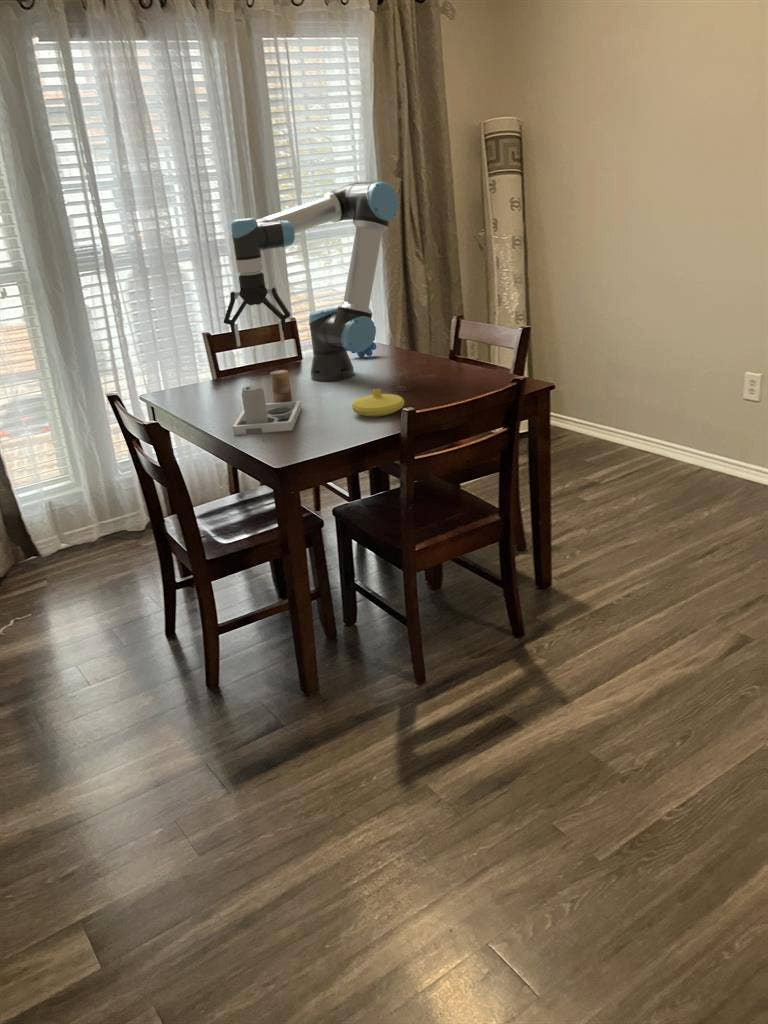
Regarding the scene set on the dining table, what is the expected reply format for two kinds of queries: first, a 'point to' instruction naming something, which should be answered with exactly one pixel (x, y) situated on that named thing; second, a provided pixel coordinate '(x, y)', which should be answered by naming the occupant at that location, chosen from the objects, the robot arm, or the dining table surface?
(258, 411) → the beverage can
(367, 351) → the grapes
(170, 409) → the dining table surface
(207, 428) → the dining table surface
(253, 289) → the robot arm
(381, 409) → the yellow lid
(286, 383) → the brown cylinder
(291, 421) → the white tray
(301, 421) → the dining table surface
